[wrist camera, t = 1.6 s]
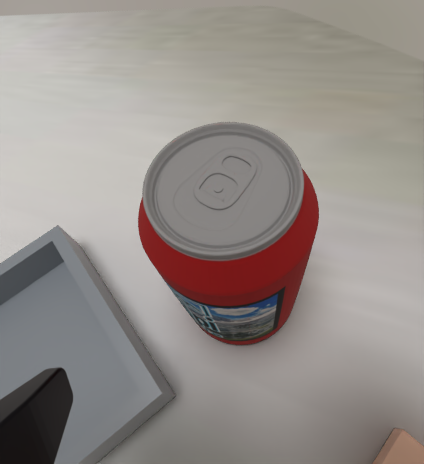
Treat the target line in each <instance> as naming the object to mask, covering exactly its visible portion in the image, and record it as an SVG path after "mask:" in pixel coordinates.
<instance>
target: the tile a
mask: <svg viewBox="0 0 424 464" xmlns="http://www.w3.org/2000/svg"><path fill="white" fill-rule="evenodd" d="M373 464H424V446H423V445H421V444H420V443H419V442H418V441H417V440H415V439H414V438H413V437H412V436H410V435H409V434H408V433H407V432H406V431H404V430H403V429H397V428H394V429H393V431H392V433H391V434H390V436H389V437H388V439H387V441H386V442H385V444H384V446H383V447H382V449H381V451H380V452H379V454H378V455H377V457H376V459H375V460H374V462H373Z"/></svg>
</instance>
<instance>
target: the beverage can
mask: <svg viewBox="0 0 424 464" xmlns="http://www.w3.org/2000/svg"><path fill="white" fill-rule="evenodd" d="M142 194H143V197H142V200H141V203H140V208H139V217H138V227H139V235H140V239H141V242H142V245H143V248H144V250H145V252H146V254H147V256H148V257H149V259H150V261H151V262H152V263H153V265H154V266H155V268H156V269H157V271H158V272H159V273H160V275H161V276H162V278H163V279H164V281H165V282H166V283H167V285H168V286H169V288H170V289H171V290H172V292H173V293H174V294H175V296H176V297H177V298H178V300H179V301H180V302H181V304H182V305H183V306H184V308H185V309H186V310H187V312H188V313H189V314H190V316H191V317H192V318H193V319H194V320H195V322H196V323H197V324H198V325H199V326H200V328H201V329H202V330H203V331H205V332H206V333H207V334H208V335H210V336H211V337H213V338H215V339H217V340H219V341H222V342H225V343H229V344H235V345H246V344H252V343H256V342H259V341H262V340H264V339H266V338H268V337H270V336H271V335H273V334H274V333H276V332H277V331H278V330H279V329H280V328H281V327H282V326H283V324H284V323H285V322H286V320H287V319H288V317H289V315H290V313H291V311H292V308H293V305H294V303H295V300H296V297H297V294H298V291H299V288H300V285H301V282H302V279H303V275H304V272H305V269H306V266H307V262H308V259H309V256H310V252H311V249H312V245H313V242H314V238H315V235H316V231H317V226H318V219H319V208H318V201H317V196H316V193H315V190H314V188H313V185H312V183H311V181H310V179H309V177H308V176H307V174H306V173H305V171H304V170H303V169H302V168H301V165H300V162H299V160H298V158H297V156H296V155H295V153H294V152H293V150H292V149H291V148H290V147H289V146H288V145H287V144H286V143H285V142H284V141H283V140H282V139H281V138H279V137H278V136H276V135H275V134H273V133H271V132H270V131H268V130H265V129H263V128H260V127H258V126H254V125H250V124H246V123H237V122H220V123H213V124H208V125H204V126H201V127H197V128H194V129H192V130H190V131H188V132H185V133H183V134H182V135H180V136H178V137H177V138H175V139H174V140H172V141H171V142H170V143H168V144H167V145H166V146H165V147H164V148H163V149H162V150H161V151H160V152H159V153H158V154H157V156H156V157H155V158H154V160H153V161H152V163H151V165H150V167H149V169H148V171H147V173H146V176H145V180H144V184H143V193H142Z"/></svg>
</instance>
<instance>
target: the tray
mask: <svg viewBox="0 0 424 464" xmlns="http://www.w3.org/2000/svg"><path fill="white" fill-rule="evenodd" d="M57 367H62V368H64V370H65V371H66V374H67V377H68V380H69V383H70V386H71V389H72V392H73V404H72V407H71V411H70V414H69V417H68V420H67V424H66V427H65V430H64V433H63V437H62V440H61V443H60V447H59V450H58V453H57V456H56V459H55V462H54V464H96V463H97V462H98V461H100V460H101V459H102V458H103V457H104V456H105V455H107V454H108V453H109V452H110V451H111V450H113V449H114V448H115V447H116V446H117V445H118V444H120V443H121V442H122V441H123V440H124V439H126V438H127V437H128V436H129V435H130V434H131V433H133V432H134V431H135V430H136V429H137V428H139V427H140V426H141V425H142V424H143V423H144V422H146V421H147V420H148V419H149V418H150V417H152V416H153V415H154V414H155V413H156V412H157V411H159V410H160V409H161V408H162V407H163V406H165V405H166V404H167V403H168V402H169V401H170V400H172V399H173V398H174V397H175V396H176V395H175V393H174V392H173V390H172V389H171V387H170V386H169V384H168V382H167V381H166V379H165V378H164V376H163V375H162V373H161V371H160V370H159V368H158V367H157V365H156V364H155V362H154V360H153V359H152V357H151V356H150V354H149V353H148V351H147V349H146V348H145V346H144V345H143V343H142V342H141V340H140V339H139V337H138V335H137V334H136V332H135V331H134V329H133V328H132V326H131V324H130V323H129V321H128V320H127V318H126V317H125V315H124V313H123V312H122V310H121V309H120V307H119V306H118V304H117V302H116V301H115V299H114V298H113V296H112V295H111V293H110V291H109V290H108V288H107V287H106V285H105V284H104V282H103V280H102V279H101V277H100V276H99V274H98V273H97V271H96V270H95V268H94V266H93V265H92V263H91V262H90V260H89V259H88V257H87V255H86V254H85V252H84V251H83V249H82V248H81V246H80V245H79V244H78V243H77V242H76V241H75V240H74V239H73V238H71V237H70V236H69V235H68V234H67V233H66V232H65V231H64V230H63V229H62V228H60V227H59V226H58V225H57V226H56V227H54V228H53V229H51V230H50V231H48V232H47V233H45V234H44V235H42V236H41V237H39V238H38V239H36V240H35V241H33V242H32V243H30V244H29V245H27V246H26V247H24V248H23V249H21V250H20V251H18V252H17V253H15V254H14V255H12V256H11V257H9V258H8V259H6V260H5V261H3V262H2V263H0V399H2V398H3V397H5V396H6V395H8V394H9V393H11V392H12V391H14V390H15V389H17V388H18V387H20V386H21V385H23V384H24V383H26V382H27V381H29V380H30V379H32V378H33V377H35V376H36V375H38V374H39V373H41V372H42V371H44V370H45V369H48V368H57Z"/></svg>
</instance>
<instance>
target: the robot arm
mask: <svg viewBox="0 0 424 464" xmlns="http://www.w3.org/2000/svg"><path fill="white" fill-rule="evenodd" d="M72 404H73V392H72V389H71V386H70V383H69V380H68V377H67V374H66V371H65V370H64V368H62V367H57V368H48V369H45V370H44V371H42V372H41V373H39V374H38V375H36V376H35V377H33V378H32V379H30V380H29V381H27V382H26V383H24V384H23V385H21V386H20V387H18V388H17V389H15V390H14V391H12V392H11V393H9V394H8V395H6V396H5V397H3V398H2V399H0V464H54V462H55V459H56V456H57V453H58V450H59V447H60V443H61V440H62V437H63V433H64V430H65V427H66V424H67V420H68V417H69V414H70V411H71V407H72Z"/></svg>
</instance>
